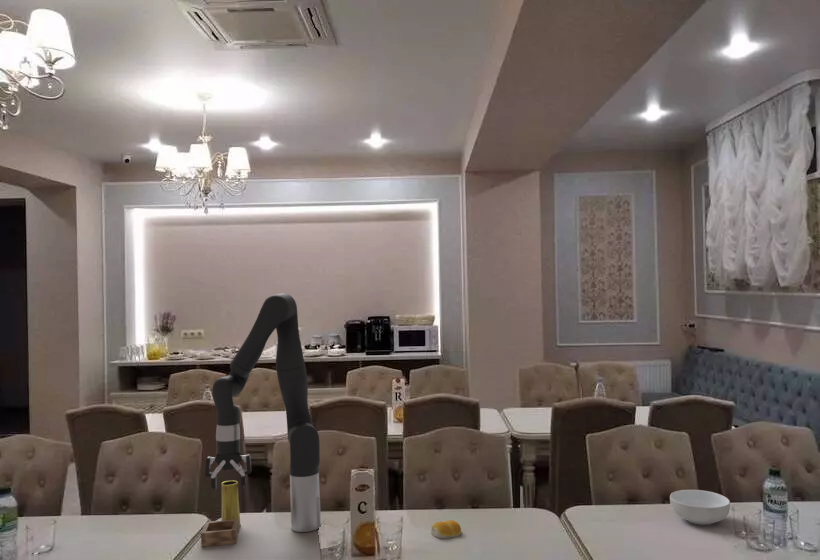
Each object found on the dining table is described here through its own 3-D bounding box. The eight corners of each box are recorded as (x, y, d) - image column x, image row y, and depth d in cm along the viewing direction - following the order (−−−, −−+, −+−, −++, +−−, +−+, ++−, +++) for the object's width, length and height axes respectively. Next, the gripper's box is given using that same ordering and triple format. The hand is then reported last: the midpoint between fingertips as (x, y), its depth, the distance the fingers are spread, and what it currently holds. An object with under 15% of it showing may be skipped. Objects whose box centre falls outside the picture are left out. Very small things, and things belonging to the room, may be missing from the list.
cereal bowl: (670, 527, 192) (669, 503, 192) (670, 509, 208) (669, 487, 208) (733, 533, 186) (732, 508, 186) (728, 514, 201) (727, 491, 202)
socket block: (238, 531, 201) (238, 518, 201) (235, 543, 192) (235, 530, 192) (206, 534, 200) (205, 521, 200) (201, 546, 190) (200, 533, 190)
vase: (235, 530, 202) (233, 485, 203) (217, 530, 203) (216, 485, 204) (243, 524, 208) (242, 480, 209) (226, 523, 209) (225, 479, 210)
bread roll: (466, 535, 192) (465, 522, 192) (440, 541, 188) (440, 527, 188) (451, 526, 200) (451, 514, 200) (426, 532, 195) (426, 519, 196)
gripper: (251, 434, 211) (251, 483, 211) (206, 436, 209) (207, 486, 208) (250, 439, 204) (250, 490, 203) (203, 441, 201) (204, 493, 201)
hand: (228, 488), depth 206 cm, fingers open, 8 cm apart
